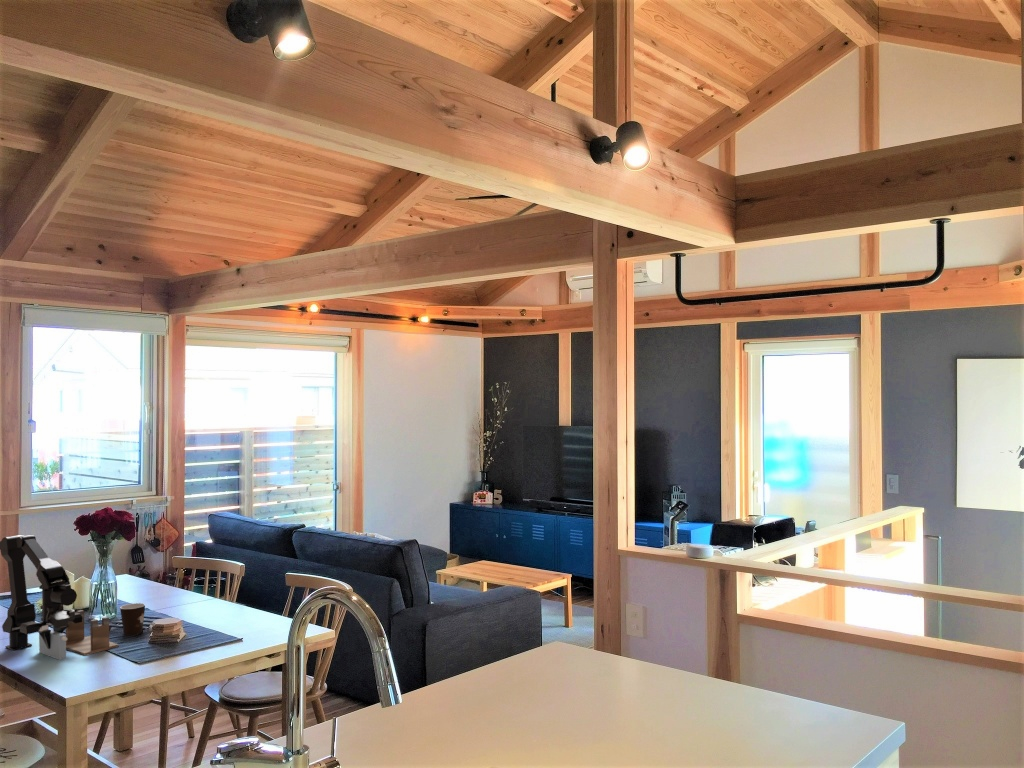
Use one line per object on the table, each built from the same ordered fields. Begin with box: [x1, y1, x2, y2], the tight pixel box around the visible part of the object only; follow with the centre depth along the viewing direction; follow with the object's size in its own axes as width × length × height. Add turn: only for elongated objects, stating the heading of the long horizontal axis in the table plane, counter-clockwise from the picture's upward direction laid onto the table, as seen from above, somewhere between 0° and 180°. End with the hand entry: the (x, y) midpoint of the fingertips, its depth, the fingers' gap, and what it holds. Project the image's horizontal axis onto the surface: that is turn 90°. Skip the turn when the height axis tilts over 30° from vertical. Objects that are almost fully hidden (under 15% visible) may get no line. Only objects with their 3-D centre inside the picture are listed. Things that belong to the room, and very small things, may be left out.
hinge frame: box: [65, 609, 120, 656], centre depth 296 cm, size 20×12×11 cm, turn 53°
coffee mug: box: [119, 602, 146, 636], centre depth 314 cm, size 12×9×10 cm
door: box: [37, 629, 67, 661], centre depth 287 cm, size 19×2×8 cm, turn 54°
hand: (52, 647), depth 287 cm, fingers closed on door, 2 cm apart
